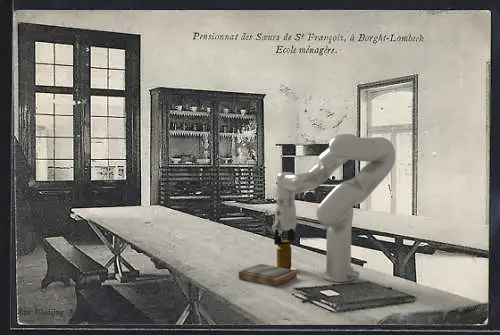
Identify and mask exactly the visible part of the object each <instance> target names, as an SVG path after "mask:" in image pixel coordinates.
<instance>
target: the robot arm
mask: <svg viewBox="0 0 500 335" xmlns="http://www.w3.org/2000/svg"><path fill="white" fill-rule="evenodd" d="M318 160H319V161H318V162H317V164H316V165H315V166H314V167H312V168H311V169H310V170H308V171H307V172H302V173H298V174H295V173H293V172H290V171H289V172H288V171H285V172H284V171H283V172H279V173H277V175H276V202H275V203H276V206H275V212H274V222H273V224H272V226H271V229H272V233H273V236H274V238H273V240H274V241H273V242H274V245H276V246H278V245H281V243H282V240H283V238H282V233H283V231H284V232H287V240H289V241H290V242H295V239H296V238H295V235H296V234H295V232H296V231H297V230H296V228H297V224H298V219H297V210H296V205H295V204H296V202H295V201H296V200H295V199H296V198H295V197H296V193H297V194H298V193H299V194H301V193H305V192H310V191H313V190H315V189H317V188H318V187H319V186H321V185H322V184H324V182H326V181H327V180H328V179H329V178H330V177H331V176H333V173H334V172H335V171H336V170H338V169H339V168H340V167H341V166H343V165H344V164H345V163H347V162H348V161H349V160H350V161H351V160H352V161H359V162H364V163H365V162H367V163H366V165H365V166H363V167H362V168H361V169H360V171H359V172H357V174H355V176H354V177H352V178H351V179H349V180H345V181H342V182H340V183H339V184H337V185H336V186H335V187H334V188H333V189H332V190H331V191H330V192H329V193H328V195H326V197H324V199H323V200H322V201H321V202H320V203H319V205H318V206H317V209H316V212H315V213H316V218H317V221H318V222H319V224H320V225H323V226H324V227H327V228H326V239H325V240H326V244H325V246H326V252H325V253H326V258H325V259H326V262H325V263H326V265H325V266H326V267H325V268H326V270H325V272H322V278H323V279H324V280H326V281H329V282H333V283H346V282H352V281H354V280H355V279H356V278H357V279H358V278H360V271H357V270H354V267H353V266H352V226H353V219H354V206H358V205H360V204H362V203H363V202H365V201H366V199H367V198H368V197H369V196H370V195H371V194H372V193H373V192H374V191H375V189H376V188H378V186H379V185H380V184H381V183H382V182H383V181H384V179H386V178H387V176H388V175H389V174H390V173H391V171H392V169H393V167H394V164H395V163H396V162H395V161H396V150H395V147H394V145H393V143H392V142H391V141H390V139H387V138H386V137H381V136H376V137H375V136H374V137H359V136H358V137H357V136H356V135H355V134H352V133H343V134H336V135H334V136H333V137H332V138H331V139H330V140H329V144H328V147H327V148H326V149H325V150H323V152H321V153H320V154H319V156H318Z"/></svg>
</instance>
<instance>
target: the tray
mask: <svg viewBox="0 0 500 335" xmlns="http://www.w3.org/2000/svg"><path fill="white" fill-rule="evenodd" d="M297 271H298V270H291V269H285V268H280V267H277V266H276V267H275V265H269V264H264V263H258V264H256V265H252V266H251V267H248V268H245V269H242V270H239V271H238V279H239V280H241V281H247V282H250V283H255V284H259V285H265V286H269V287H273V288H274V287H275V288H278V287H280V286H282V285H285V284H287V283H290V282H292V281H294V280H296V279H298V278H297V277H298V272H297ZM295 278H296V279H295ZM293 279H294V280H293ZM291 280H292V281H291ZM289 281H290V282H289Z"/></svg>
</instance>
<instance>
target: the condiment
mask: <svg viewBox="0 0 500 335" xmlns="http://www.w3.org/2000/svg"><path fill="white" fill-rule="evenodd" d="M274 266H275V265H274ZM291 266H292V247H291V241H290V240H288V239H282V243H281V245H277V247H276V266H275V267H280V268H285V269H290V268H291Z"/></svg>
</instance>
